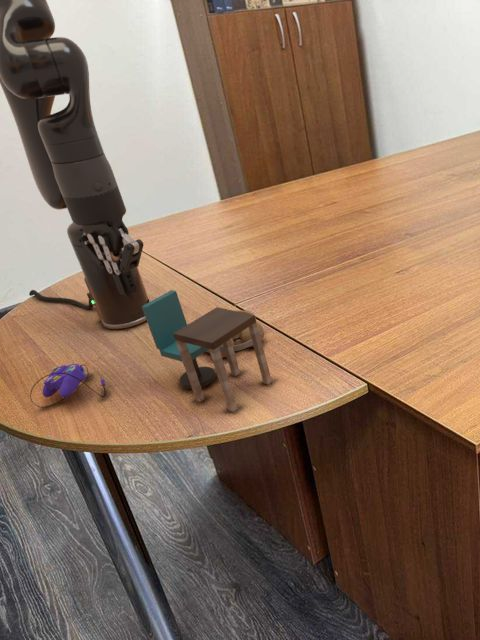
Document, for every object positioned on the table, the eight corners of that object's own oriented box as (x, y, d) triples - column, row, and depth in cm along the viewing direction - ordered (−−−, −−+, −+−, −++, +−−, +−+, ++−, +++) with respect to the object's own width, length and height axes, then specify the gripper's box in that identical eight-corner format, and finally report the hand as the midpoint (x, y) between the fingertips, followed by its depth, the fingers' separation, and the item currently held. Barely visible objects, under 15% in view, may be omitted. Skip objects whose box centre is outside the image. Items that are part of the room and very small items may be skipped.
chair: (169, 384, 108) (141, 306, 100) (197, 366, 112) (171, 289, 105) (198, 393, 105) (170, 313, 98) (224, 373, 110) (201, 295, 102)
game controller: (11, 388, 103) (63, 348, 109) (49, 424, 107) (97, 383, 114) (35, 388, 97) (89, 345, 103) (74, 427, 101) (124, 383, 107)
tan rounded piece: (242, 305, 126) (269, 319, 114) (249, 328, 128) (277, 344, 116) (183, 324, 120) (206, 342, 109) (192, 348, 122) (215, 368, 110)
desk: (196, 401, 104) (172, 333, 97) (236, 371, 111) (216, 306, 104) (233, 412, 101) (211, 343, 94) (272, 381, 107) (254, 315, 101)
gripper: (140, 183, 97) (175, 288, 105) (83, 177, 102) (120, 277, 111) (96, 199, 91) (137, 309, 100) (38, 192, 96) (81, 296, 105)
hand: (128, 292), depth 105 cm, fingers closed
